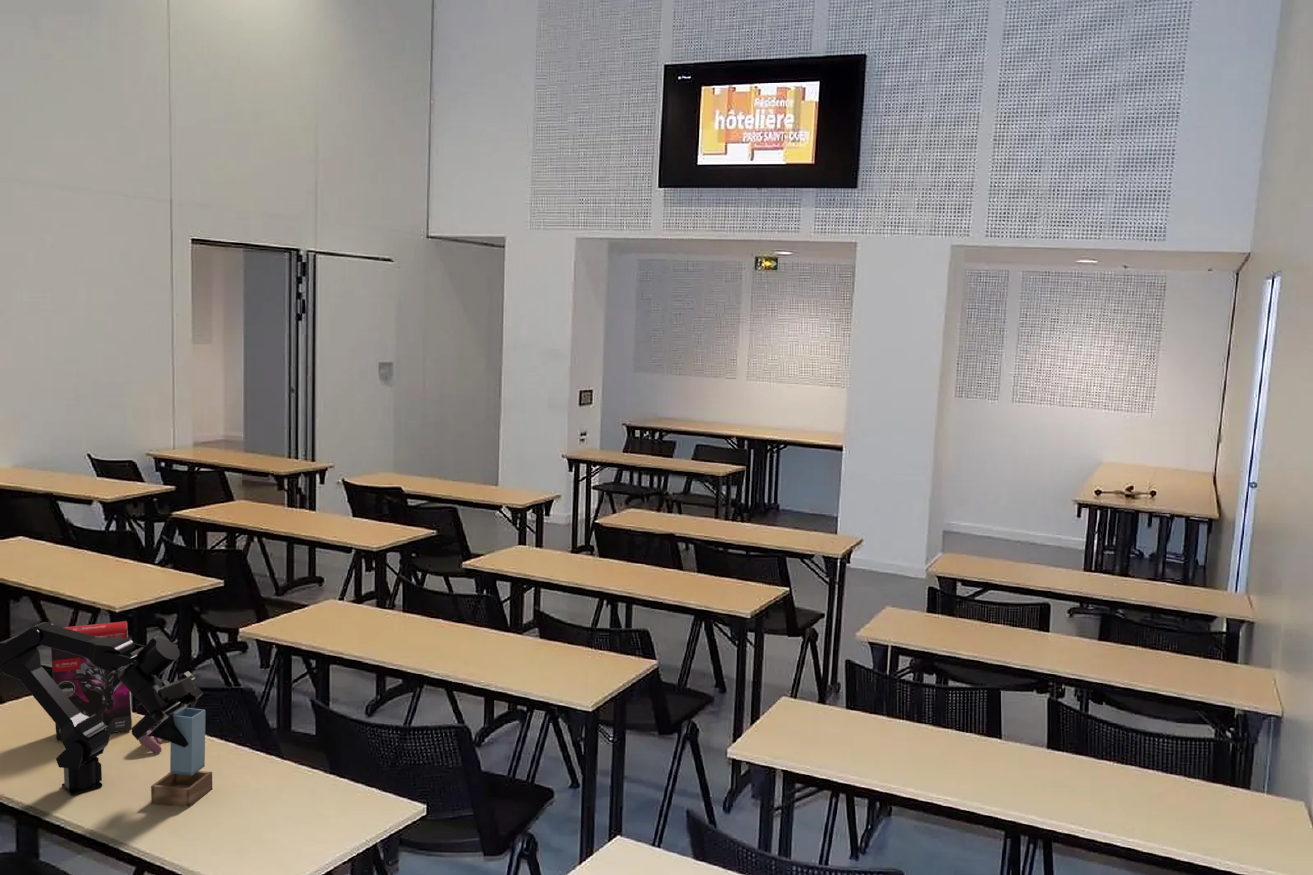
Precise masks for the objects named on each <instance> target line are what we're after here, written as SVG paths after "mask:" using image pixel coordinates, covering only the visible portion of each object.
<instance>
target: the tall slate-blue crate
mask: <svg viewBox="0 0 1313 875" xmlns="http://www.w3.org/2000/svg"><path fill="white" fill-rule="evenodd" d="M172 715H173V717H174V725H175V726H176V727H177V729H178V730H179V731H180V732H181V734H182V735H183V736H184V738H185V739H186V741H187V742H188V745H187V746H186V747H182V746H179V745H177V744H174V743H171V742H170V748H169V749H170V753H169V754H170V761H169V762H170V764H169V765H170V770H169V771H170V772H169V773H173V774H181V775H189V776H192V775H193V774H195V773H196V772H198V771H201V770H202V769H204V768H205V766H206V765H205V764H206V756H205V755H206V709H201V708H195V709H194V708H185V707H184V708H183V709H181V710H179V711H178V712H176V713H172Z"/></svg>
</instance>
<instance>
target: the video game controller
mask: <svg viewBox="0 0 1313 875" xmlns="http://www.w3.org/2000/svg"><path fill="white" fill-rule="evenodd" d="M151 732H152V731H151V730H150V729H149V730H148V731H147V734H146V735H145V736H143V737H142V738H140V739H139V740H138V742H139V744H140V745H141V746H144V748H145V749H146V750H148V751H149V752H150V753H153V754H156V753H158V754H161V753H162V746H161V743H162V742H164V740H163V739H160V738H156V737H153V736H151V737H149V736H148V735H149V734H150V733H151ZM158 743H159V744H158Z"/></svg>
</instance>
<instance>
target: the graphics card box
mask: <svg viewBox="0 0 1313 875" xmlns="http://www.w3.org/2000/svg"><path fill="white" fill-rule="evenodd" d="M63 628H66V629H70V630H73V631H77V632H80V633H84V634H87V635H91V636H94V637H100V638H105V637H119V638H128V639H129V630H128V629H129V628H128V621H127V620H123V621H118V622H117V621H115V622H106V623H97V624H96V623H94V624H85V625H75V626H65V627H63ZM50 651H51V653H50V654H51V667H52V668H51V669H52V679H53V680H54V682H55V683H56V684H57V685H58V686H59V687H60V689H61V690H62V691H63V692H64V693H65V695H66V696H67V697H68V698H69V699H70V701H71V702H72V703H73V704H74V705H75V707H76V708H77V709H78V710H79V711H80V713H82V714H83V715H85V716H88V717H90V716H92V715H94V714H96V715H97V716H98V717H99V718H100V720H101V721H102V723H103V724H105V725H106V726H108V727H107V728H106V729H107V730H108V732H109V734H113V733H114V734H115V733H120V732H126V731H132V727H133V721H132V720H133V719H132V717H133V716H132V713H133V712H132V696H131V695H132V693H131V692H130V691H129V689H128V688H127V687H126V686H125V685H124V684H123V683H121V684H119V685H117V686H115V687H113V680H114V674H115V673H117V672H119V671H123V670H124V669H125V668H126V667H127V666H129V665H130V664H128V665H126V666H123V667H121V668H119V669H117V670H115V671H111V672H109V671H105V670H103V669H101V668H99V667H97V666H95V665H93V664H92V663H91V662H90V660H89V659H87V658H85V657H82V656H79V655H75V654H72V653H68V652H65V651H61V650H58V649H54V648H51V647H50ZM54 723H55V722H54ZM55 736H56V738H55V739H56V742H57V741H62V737H61V730H60V728H59V727H58V725H57V724H56V723H55Z"/></svg>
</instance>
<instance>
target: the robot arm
mask: <svg viewBox="0 0 1313 875" xmlns="http://www.w3.org/2000/svg"><path fill="white" fill-rule="evenodd" d="M41 646H44V647H47V648H50V649H51V648H54V649H58V650H61V651H65V652H68V653H72V654H75V655H79V656H82V657H85V658H87V659H89V660H90V662H91V663H92V664H93V665H95V666H97V667H99V668H101V669H103V670H105V671H109V672H111V671H115V670H117V669H119V668H121V667H123V666H126V665H128V664H129V666H127V667H126V668H125V669H124V670H123V671H119V672H117V673H115V674H114V680H113V687H115V686H117V685H119V684H121V683H123V684H124V685H125V686H126V687H127V688H128V689H129V691H130V692H131V695H133V696H134V698H136V701H135V702H134V704H135V706H136V707H139V706H140V705H142V706H143V709H145V710H146V711H147V712H148V713H147V714H144V716H143V717H142V718H141V719H140V720H139V721H138V722H137V723H135V725H132V729H131V735H132V736H133V737H134V738H135V739H136V740H137V741H139V739H140V738H142V737H143V736H145V735H146V734H147V731H148V730H149V729H150V730H151V731H152V732H151V733H150V734H149V735H148V736H149V737H151V736H153V737H156V738H160V739H163V741H167V742H169V743H170V744H171V743H174V744H177V745H179V746H182V747H186V746H187V745H188V742H187V741H186V739H185V738H184V736H183V735H182V734H181V732H180V731H179V730H178V729H177V727H176V726H175V725H174V717H173V714H174V713H176V712H178V711H179V710H181V709H183V708H184V707H185V708H194V709H196V704H197V703H198V700H199V698H200V697H201V696H202V695H204V692H203V691H202V690H201V689H200V688H199V687H198V686H195V684H196V682H197V678H196V677H195V676H194V675H193V674H192V673H191V672H190V671H189V670H187V671H185V672H182V673H180V674H179V675H178V678H177V679H178V680H175V681H173V682H171V683H170V681H168V680H166V679H162V680H160V679H159V678H158V677H157V676H160V675H162V674H163V673H164V672H165V671H166V670H167V669H168V668H169V667H170V666H172V664H174V663H175V661H177V660H178V658H179V657H180V655H181V654H180V649H179V648H178V646H177V645H176V644H175V643H174V642H172V641H170V640H168V639H165V638H161V636H160V635H156V636H153V637H151V639H150V640H149V641H148V642H147V644H146V645H144V644H140V643H137V642H134V641H133V640H132V639H130V638H129V637H128V638H119V637H105V638H100V637H94V636H91V635H87V634H84V633H80V632H77V631H73V630H70V629H66V628H63V627H62V626H59V625H55V624H53V623H52V622H50V621H49V622H48V621H44V622H40V623H38V624H36V625H33V626H30V627H29V628H28V629H27V630H26V631H24V632H22V633H20V634H18V635H15V636H13V637H10V638H8V639H5V640H2V641H0V671H1V673H3V674H4V675H7V676H8V677H11V678H15V679H17V680H18V681H20V683H21V684H22V685H23V686H24V688H26V690H27V691H28V693H30V694H31V696H33V698H34V699H35V700H36V701H37V703H38V704H39V705H40V706H41V707H42V709H43V710H44V711H45V712H46V714H48V716H49V718H51V720H52V721H53V722H54V723H56V724H57V725H58V727H59V728H60V730H61V737H62V740H61V743H62V745H63V746H64V750H63V751H62V752H61V753H60V754H59V755H58V756H57V757H56V758H55V760H56V764H57V767H58V768H59V769H60V768H62V769H63V778H64V780H63V781H64V783H62V784H61V788H63V789H64V790H65V792H67V793H68V794H69V795H70V796H75V795H78V794H82V793H85V792H88V791H91V790H95V789H99V788H101V787H103V783H102V778H103V775H102V773H103V772H102V763H101V762H99V761H100V760H99V757H98V756H101V755H102V754H103V753H104V750H105V748H106V747H107V746H108V744H109V741H110V736H111V735H110V733H109V732H108V730H107V729H106V728H107V727H108V726H106V725H105V724H103V723H102V721H101V720H100V718H99V717H98V716H97V715H96V714H94V715H92V716H90V717H88V716H85V715H83V714H82V713H80V711H79V710H78V709H77V708H76V707H75V705H74V704H73V703H72V702H71V701H70V699H69V698H68V697H67V696H66V695H65V693H64V692H63V691H62V690H61V689H60V687H59V686H58V685H57V684H56V683H55V682H54V680H53V677H51V676H50V674H49V673H48V672H47V671H46V669H45V668H44V667H43V666H42V665H41V664H42V663H41V655H40V651H39V649H38V648H39V647H41ZM134 662H136V663H134ZM153 737H152V738H153Z"/></svg>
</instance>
